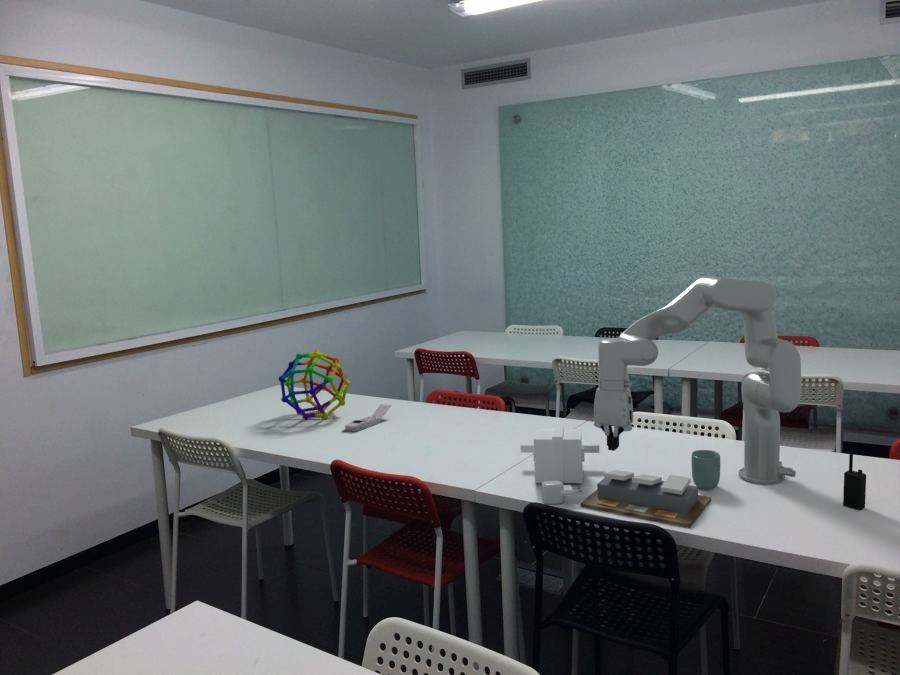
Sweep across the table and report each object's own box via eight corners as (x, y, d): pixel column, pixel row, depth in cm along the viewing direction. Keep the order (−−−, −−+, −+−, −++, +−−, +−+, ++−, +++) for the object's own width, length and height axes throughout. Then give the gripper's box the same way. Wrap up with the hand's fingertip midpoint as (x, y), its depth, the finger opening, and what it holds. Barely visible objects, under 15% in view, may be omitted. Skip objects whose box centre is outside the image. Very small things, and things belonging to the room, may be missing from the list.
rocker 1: (633, 477, 203) (634, 472, 203) (623, 480, 196) (623, 476, 196) (615, 474, 206) (615, 469, 206) (604, 477, 200) (604, 473, 200)
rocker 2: (661, 481, 198) (661, 477, 198) (651, 485, 192) (652, 480, 192) (642, 478, 202) (642, 474, 202) (631, 481, 195) (632, 477, 195)
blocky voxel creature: (599, 461, 238) (601, 486, 210) (524, 461, 242) (516, 485, 215) (598, 418, 236) (599, 437, 209) (523, 418, 241) (515, 437, 214)
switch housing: (698, 500, 194) (698, 484, 194) (687, 513, 186) (687, 496, 186) (611, 485, 209) (610, 470, 208) (597, 497, 201) (597, 481, 200)
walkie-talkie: (866, 507, 186) (868, 452, 184) (859, 511, 184) (861, 455, 182) (847, 502, 190) (848, 448, 188) (840, 505, 188) (842, 451, 186)
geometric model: (369, 357, 309) (312, 336, 320) (330, 369, 282) (270, 345, 293) (355, 421, 316) (300, 398, 327) (316, 438, 289) (258, 413, 300)
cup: (688, 482, 210) (688, 450, 209) (716, 482, 209) (716, 449, 208) (695, 492, 203) (695, 458, 201) (723, 492, 202) (723, 458, 200)
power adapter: (580, 497, 204) (580, 477, 203) (583, 504, 199) (583, 484, 198) (541, 499, 204) (541, 479, 203) (543, 506, 199) (543, 486, 198)
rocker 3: (690, 481, 194) (690, 477, 193) (681, 494, 187) (681, 490, 187) (670, 478, 197) (670, 474, 197) (660, 491, 191) (660, 487, 190)
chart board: (711, 500, 196) (711, 496, 196) (690, 528, 180) (689, 523, 180) (608, 482, 213) (608, 478, 213) (580, 506, 197) (580, 502, 197)
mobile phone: (392, 405, 298) (350, 419, 278) (393, 418, 299) (351, 434, 279) (381, 403, 302) (339, 418, 282) (382, 417, 303) (340, 432, 283)
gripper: (644, 384, 193) (644, 449, 196) (592, 379, 202) (593, 441, 205) (634, 390, 187) (634, 457, 190) (581, 384, 196) (582, 449, 198)
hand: (613, 449), depth 197 cm, fingers closed
